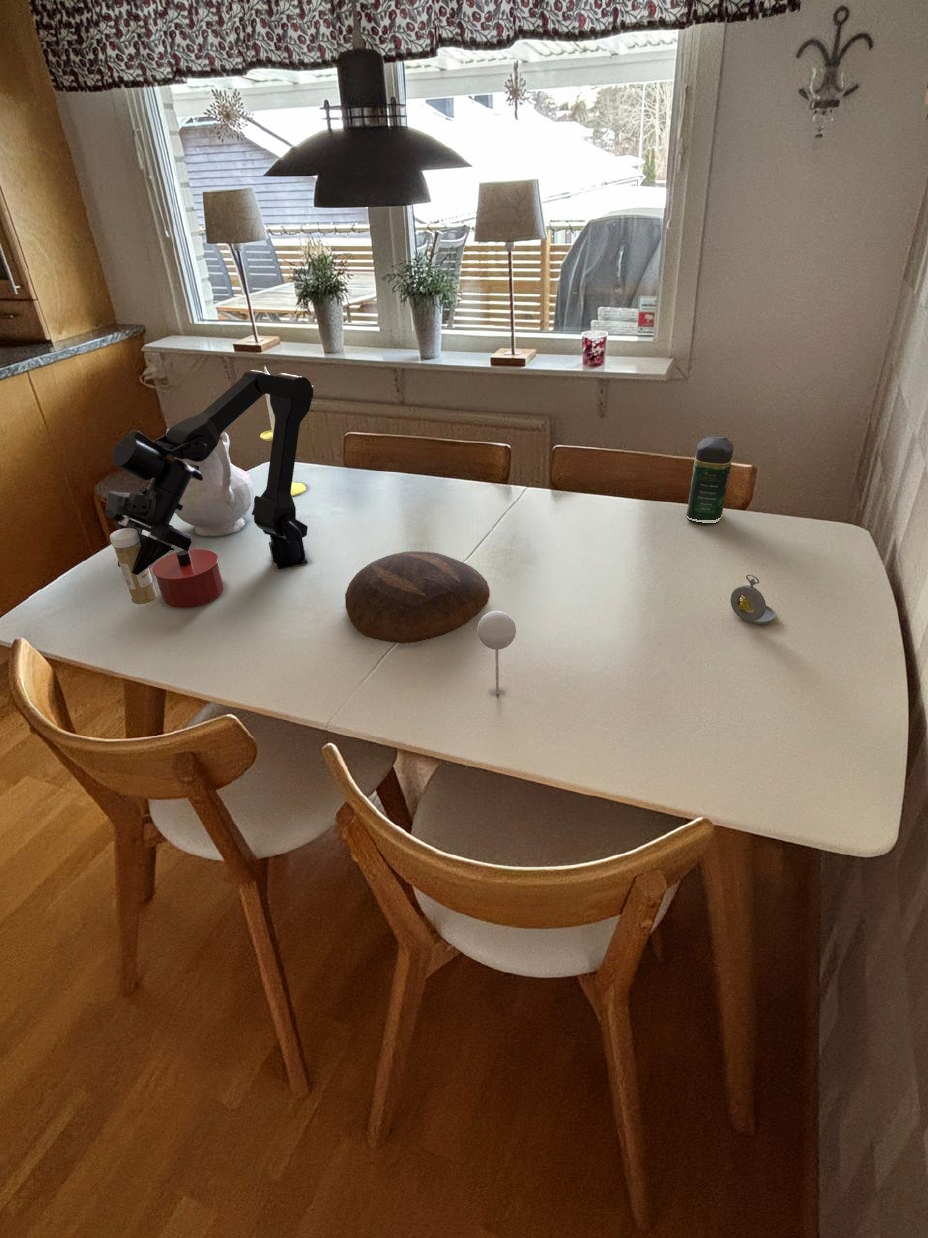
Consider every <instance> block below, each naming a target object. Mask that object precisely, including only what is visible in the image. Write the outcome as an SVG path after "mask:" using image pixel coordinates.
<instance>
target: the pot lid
mask: <svg viewBox="0 0 928 1238" xmlns="http://www.w3.org/2000/svg"><path fill="white" fill-rule="evenodd" d="M219 560H220V559H219V556H218V554H217V553H216V552H215V551H213V550H210V549H204V548H192V549H191V548H189V550H188V552H187V551H185V550H183V549H180V550H177V551H175V552H172V553H170V554H168V555H167V554H166V555H164V556H162V557H161V558H159V559H158V560H157V561H155V562H154V563H153V566H152V569H151V571H152V575H153V576H154V577H155V578H156V577H157V578H159V579H162V580H167V581H181V580H187V579H192V578H196V577H199V576H201V575H204V574H206V573H208V572H210V571H211V570H212V569H214V568H215V567H216V566H217V564H218V565H219Z"/></svg>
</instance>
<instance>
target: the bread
mask: <svg viewBox="0 0 928 1238" xmlns="http://www.w3.org/2000/svg"><path fill="white" fill-rule="evenodd" d="M490 596H491V591H490V587H489V584H488V581H487V580H486V578H485V577H484V575H482V573H480V572H479V571H478V570H477V569H475V568H474V567H473V566H471V565H469V564H467V563H465V562H464V561H461V560H459V559H455V558H452V557H451V556H448V555H444V554H441V553H439V552H433V551H418V550H417V551H416V550H415V551H413V550H411V551H401V552H398V553H397V552H396V553H393V554H389V555H385V556H383V557H381V558H378V559H376V560H374V561H372V562H370V563H369V564H367V565H366V566H364V567H363V568H361V569H359V571H358V572H357V573H356V574H355V575H354V577H352V579H351V581H350V582H349V583H348V586H347V588H346V591H345V594H344V599H345V601H344V603H345V604H344V605H345V610H346V613H347V616H348V618H349V621H350V623H351V624H352V626H353V627H354V628H355V630H356V631H357V632H358V633H359V634H361V635H362V636H364V637H366V638H369V639H372V640H375V641H380V642H387V643H392V644H393V643H394V644H415V643H420V642H424V641H428V640H432V639H436V638H438V637H442V636H445V635H447V634H449V633H452V632H454V631H456V630H458V629H459V628H461V627H463V626H464V625H466V624H468V623H469V622H470V621H472V620H473V619H474V618H475V617H477V616H478V615H479V614H480V613H481V612H482V611H483V609H484V608H485V607H486V606H487V605H488V603H489V600H490Z"/></svg>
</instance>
